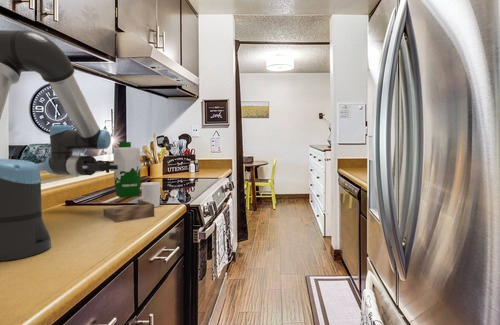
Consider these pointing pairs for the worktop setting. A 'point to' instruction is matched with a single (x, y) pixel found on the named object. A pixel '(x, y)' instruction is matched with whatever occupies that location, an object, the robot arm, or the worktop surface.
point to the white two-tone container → (130, 179)
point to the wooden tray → (130, 211)
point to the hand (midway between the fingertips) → (133, 166)
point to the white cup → (151, 192)
